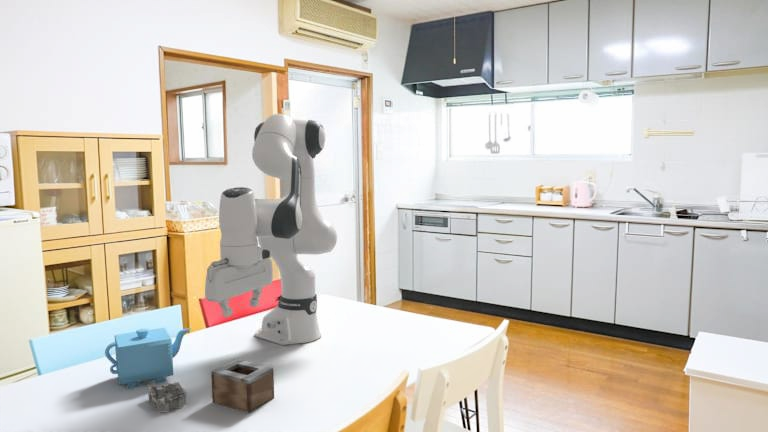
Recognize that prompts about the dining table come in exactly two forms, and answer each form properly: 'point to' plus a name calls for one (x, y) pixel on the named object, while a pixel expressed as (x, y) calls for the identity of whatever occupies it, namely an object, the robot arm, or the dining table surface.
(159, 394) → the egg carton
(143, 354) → the teapot
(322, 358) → the dining table surface
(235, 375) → the box
